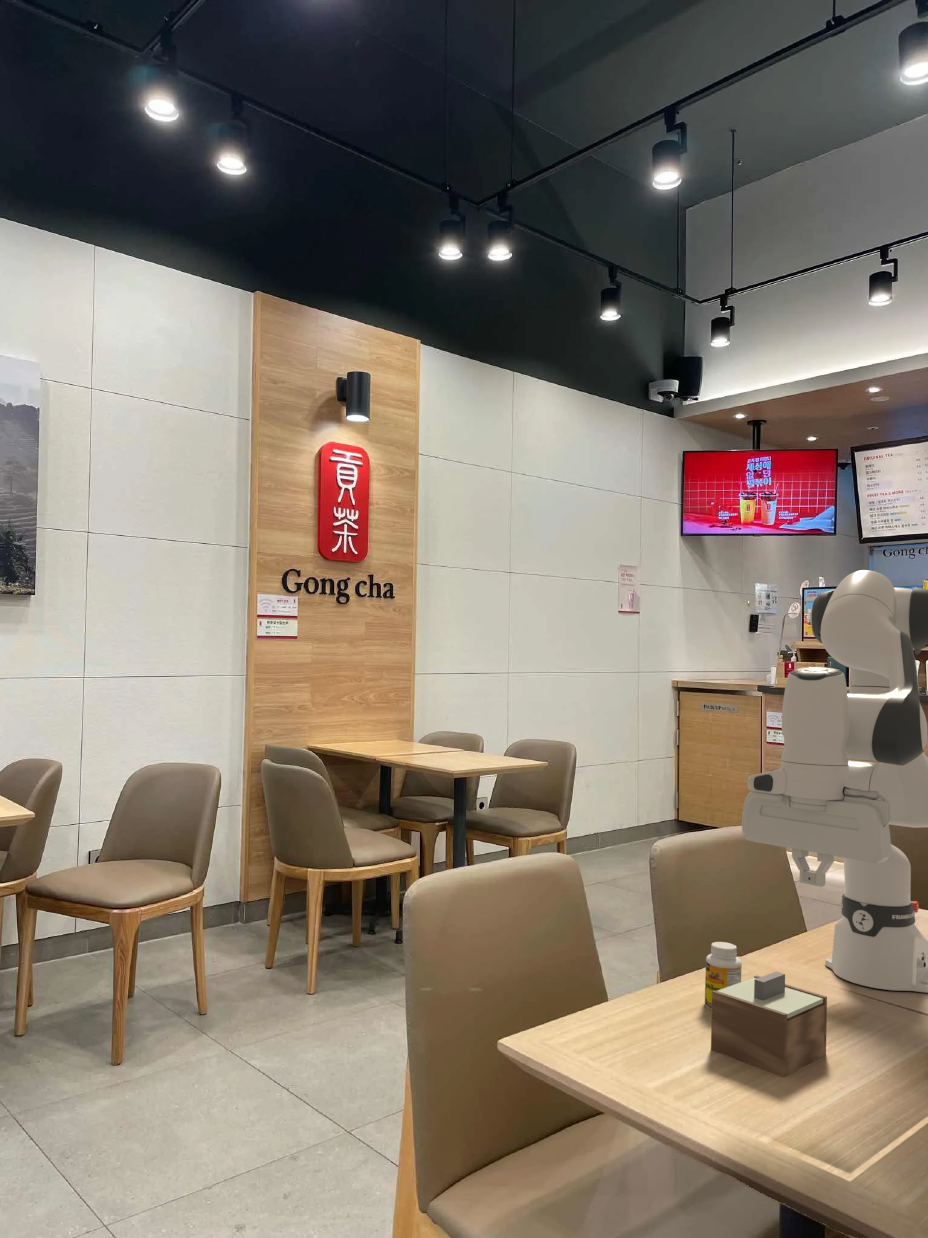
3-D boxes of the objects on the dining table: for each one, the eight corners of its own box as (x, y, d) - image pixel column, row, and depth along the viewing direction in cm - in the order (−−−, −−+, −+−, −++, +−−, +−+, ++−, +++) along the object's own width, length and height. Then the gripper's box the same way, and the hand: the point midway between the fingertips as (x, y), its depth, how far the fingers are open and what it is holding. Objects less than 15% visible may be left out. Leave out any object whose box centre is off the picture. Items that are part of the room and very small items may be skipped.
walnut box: (755, 1034, 136) (756, 975, 137) (825, 1059, 128) (827, 996, 129) (710, 1053, 128) (712, 991, 129) (783, 1081, 120) (784, 1015, 121)
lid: (753, 981, 136) (753, 960, 136) (822, 1003, 128) (823, 980, 128) (716, 995, 129) (717, 973, 129) (787, 1018, 121) (788, 995, 121)
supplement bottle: (697, 1005, 148) (699, 941, 148) (727, 1002, 149) (729, 939, 150) (717, 1017, 142) (718, 951, 143) (747, 1015, 144) (749, 949, 145)
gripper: (900, 791, 121) (899, 897, 120) (759, 774, 136) (757, 868, 135) (879, 794, 116) (878, 903, 115) (737, 776, 132) (735, 873, 131)
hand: (812, 884), depth 125 cm, fingers closed
